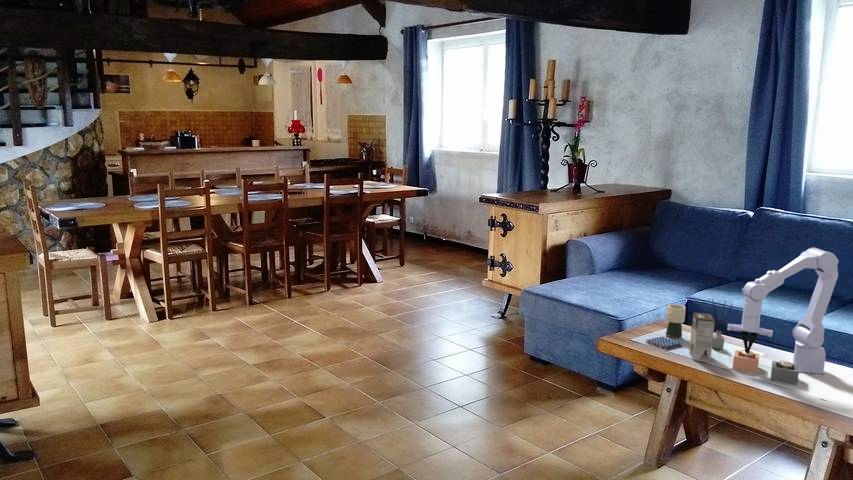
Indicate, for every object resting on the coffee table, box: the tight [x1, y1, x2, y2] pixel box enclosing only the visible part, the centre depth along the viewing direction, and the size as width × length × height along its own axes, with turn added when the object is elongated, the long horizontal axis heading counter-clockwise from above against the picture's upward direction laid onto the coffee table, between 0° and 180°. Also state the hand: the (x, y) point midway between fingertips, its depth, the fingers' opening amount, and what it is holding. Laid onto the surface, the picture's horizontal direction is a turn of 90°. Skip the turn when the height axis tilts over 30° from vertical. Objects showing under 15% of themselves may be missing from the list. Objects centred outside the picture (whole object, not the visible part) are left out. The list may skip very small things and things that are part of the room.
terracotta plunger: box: [740, 349, 754, 358], centre depth 241 cm, size 5×5×6 cm
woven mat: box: [645, 336, 683, 351], centre depth 265 cm, size 10×11×2 cm
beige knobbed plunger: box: [778, 360, 793, 369], centre depth 231 cm, size 5×5×6 cm
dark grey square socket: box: [770, 360, 800, 386], centre depth 231 cm, size 8×8×5 cm
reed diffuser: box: [711, 298, 733, 350], centre depth 260 cm, size 10×7×20 cm
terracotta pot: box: [732, 350, 760, 374], centre depth 241 cm, size 8×8×5 cm
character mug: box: [665, 303, 687, 339], centre depth 275 cm, size 11×7×13 cm, turn 125°
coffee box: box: [688, 312, 716, 362], centre depth 250 cm, size 9×6×16 cm
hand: (747, 352), depth 241 cm, fingers closed, pressing on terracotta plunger
